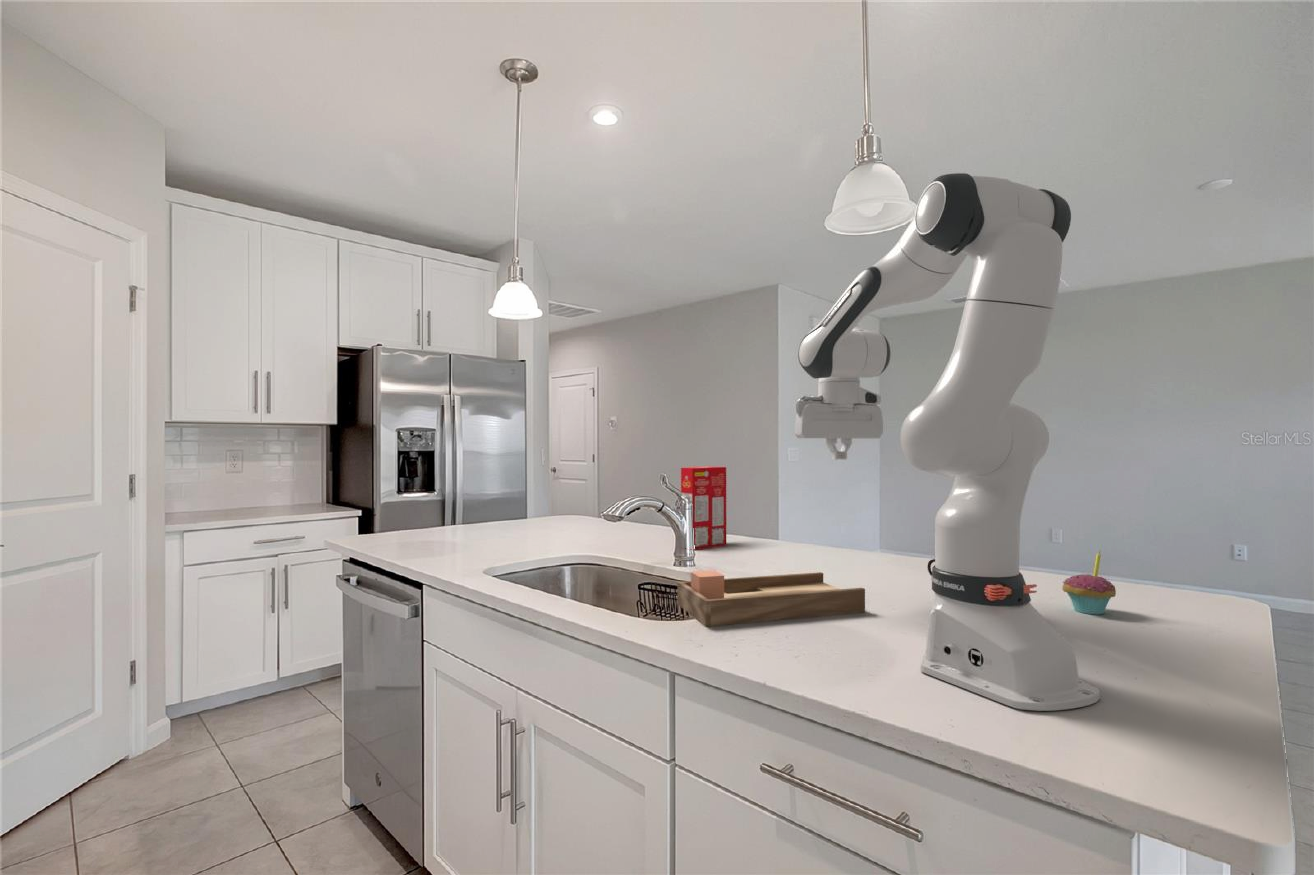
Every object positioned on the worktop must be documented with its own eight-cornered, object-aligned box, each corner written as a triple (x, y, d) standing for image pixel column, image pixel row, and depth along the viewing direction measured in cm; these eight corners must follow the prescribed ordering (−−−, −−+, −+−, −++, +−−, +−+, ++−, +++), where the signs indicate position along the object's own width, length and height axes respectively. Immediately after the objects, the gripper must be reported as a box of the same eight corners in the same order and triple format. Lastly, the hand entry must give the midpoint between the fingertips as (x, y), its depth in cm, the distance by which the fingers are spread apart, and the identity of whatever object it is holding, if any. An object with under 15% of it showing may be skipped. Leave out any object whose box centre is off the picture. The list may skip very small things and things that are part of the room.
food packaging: (714, 543, 203) (714, 466, 204) (726, 545, 199) (726, 467, 200) (681, 548, 194) (680, 467, 194) (692, 550, 190) (692, 468, 190)
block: (724, 601, 119) (724, 575, 119) (699, 603, 118) (699, 577, 118) (714, 595, 124) (714, 570, 124) (690, 597, 122) (690, 571, 122)
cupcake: (1099, 606, 125) (1099, 546, 125) (1126, 618, 117) (1126, 554, 117) (1053, 605, 126) (1053, 545, 126) (1078, 617, 117) (1077, 553, 117)
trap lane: (865, 612, 121) (865, 588, 121) (705, 626, 111) (705, 601, 112) (820, 592, 136) (820, 572, 136) (677, 604, 127) (677, 581, 127)
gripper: (803, 394, 131) (803, 460, 131) (887, 396, 136) (887, 459, 136) (789, 396, 137) (789, 459, 137) (869, 398, 142) (869, 458, 142)
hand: (839, 459), depth 137 cm, fingers closed
